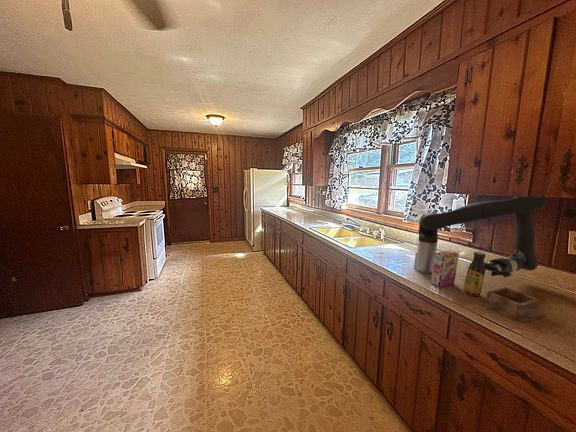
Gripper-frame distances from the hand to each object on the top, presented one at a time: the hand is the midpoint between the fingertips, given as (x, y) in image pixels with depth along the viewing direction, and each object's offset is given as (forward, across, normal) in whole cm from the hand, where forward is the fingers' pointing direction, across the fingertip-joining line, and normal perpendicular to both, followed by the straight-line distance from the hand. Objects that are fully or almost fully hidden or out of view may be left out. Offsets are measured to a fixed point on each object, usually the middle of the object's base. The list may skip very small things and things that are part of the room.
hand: (481, 270), depth 109 cm
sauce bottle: (+4, 0, +11) cm, 12 cm away
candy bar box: (+7, -12, +11) cm, 18 cm away
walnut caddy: (+3, +14, +11) cm, 18 cm away
